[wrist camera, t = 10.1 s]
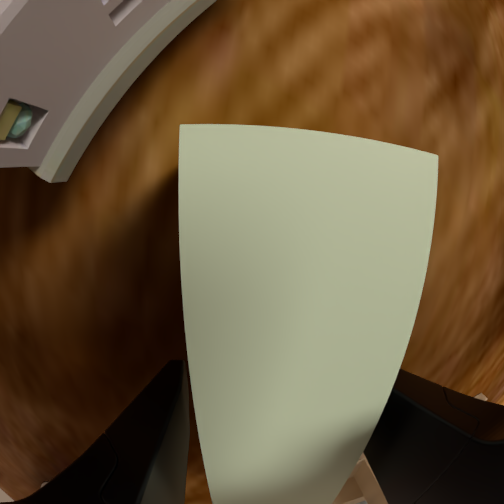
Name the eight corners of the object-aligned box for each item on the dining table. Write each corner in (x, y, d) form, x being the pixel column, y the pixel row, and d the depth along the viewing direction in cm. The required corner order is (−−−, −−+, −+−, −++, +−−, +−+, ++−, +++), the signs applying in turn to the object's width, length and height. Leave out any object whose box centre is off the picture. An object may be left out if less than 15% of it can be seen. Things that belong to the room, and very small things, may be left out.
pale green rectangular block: (322, 159, 8) (438, 155, 3) (290, 436, 10) (321, 518, 6) (194, 154, 7) (179, 124, 3) (210, 444, 10) (220, 533, 6)
